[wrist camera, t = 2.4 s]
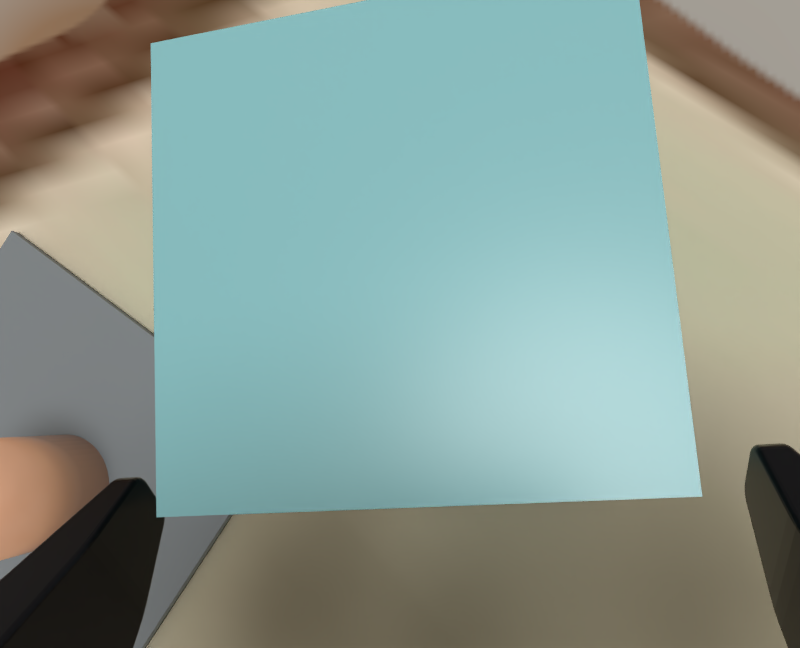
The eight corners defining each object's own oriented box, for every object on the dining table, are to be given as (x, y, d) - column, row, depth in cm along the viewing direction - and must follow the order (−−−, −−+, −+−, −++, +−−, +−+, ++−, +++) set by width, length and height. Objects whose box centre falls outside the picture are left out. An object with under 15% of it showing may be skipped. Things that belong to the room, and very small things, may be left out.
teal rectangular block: (607, 444, 19) (702, 497, 8) (375, 456, 21) (156, 516, 9) (582, 212, 20) (632, -53, 9) (362, 240, 22) (150, 43, 10)
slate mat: (51, 791, 22) (44, 796, 21) (-184, 545, 25) (-193, 547, 24) (285, 433, 21) (281, 433, 21) (18, 232, 25) (11, 230, 24)
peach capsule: (70, 564, 22) (-31, 597, 18) (-1, 500, 23) (-112, 518, 19) (128, 474, 22) (40, 488, 18) (55, 413, 23) (-45, 414, 19)
